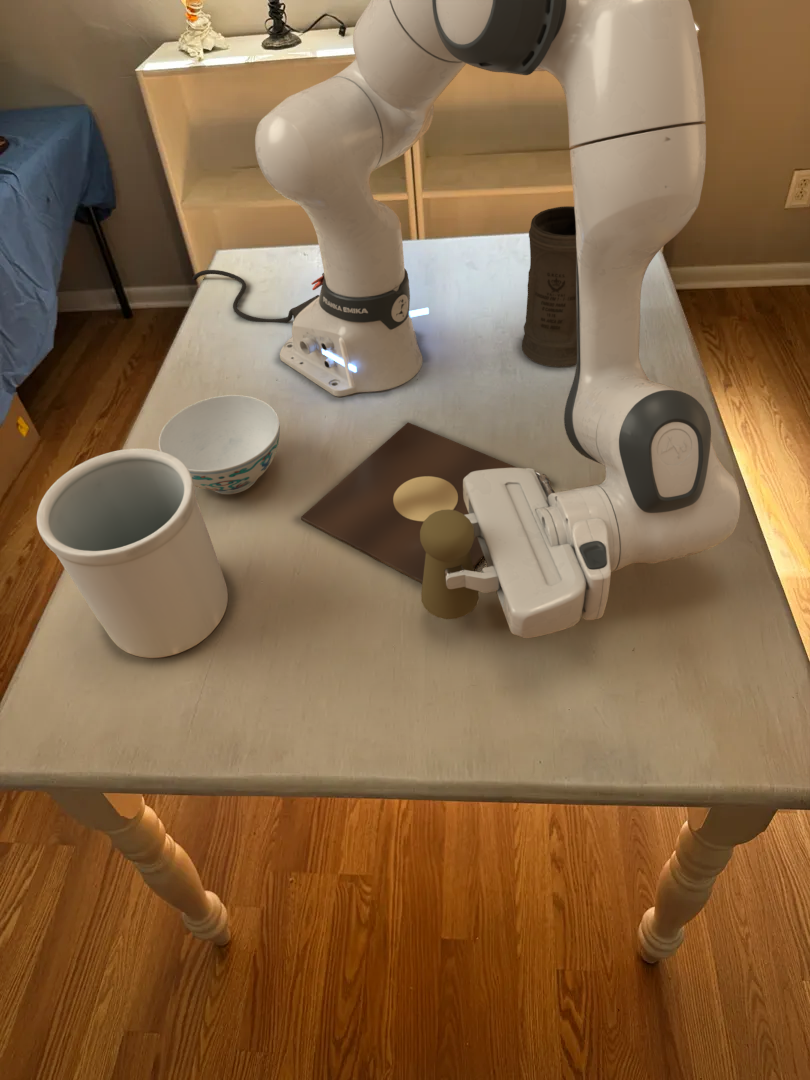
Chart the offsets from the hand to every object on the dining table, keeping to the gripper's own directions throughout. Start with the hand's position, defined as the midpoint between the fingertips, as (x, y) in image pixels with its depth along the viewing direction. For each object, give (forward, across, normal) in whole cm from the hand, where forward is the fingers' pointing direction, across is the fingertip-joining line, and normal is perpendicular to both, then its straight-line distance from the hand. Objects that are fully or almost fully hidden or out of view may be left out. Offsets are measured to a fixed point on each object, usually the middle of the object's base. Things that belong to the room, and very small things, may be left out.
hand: (439, 559), depth 77 cm
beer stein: (-29, -48, +10) cm, 57 cm away
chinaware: (+22, -30, +10) cm, 38 cm away
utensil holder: (+30, -9, +10) cm, 32 cm away
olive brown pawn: (-1, 0, +6) cm, 6 cm away
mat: (-2, -18, +10) cm, 21 cm away
